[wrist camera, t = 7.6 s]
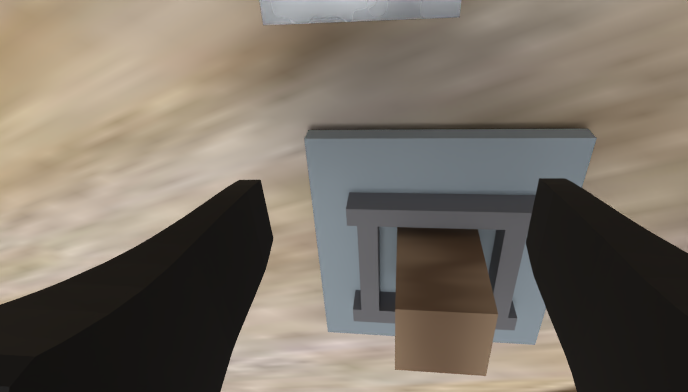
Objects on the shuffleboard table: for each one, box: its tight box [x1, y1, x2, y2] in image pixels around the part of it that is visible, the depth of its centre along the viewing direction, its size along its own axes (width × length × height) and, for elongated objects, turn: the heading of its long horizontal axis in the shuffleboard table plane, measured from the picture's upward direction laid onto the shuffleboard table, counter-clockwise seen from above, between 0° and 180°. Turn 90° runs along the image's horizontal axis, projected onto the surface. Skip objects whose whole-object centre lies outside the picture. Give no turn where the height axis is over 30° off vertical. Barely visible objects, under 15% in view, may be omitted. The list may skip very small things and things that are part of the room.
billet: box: [395, 227, 498, 376], centre depth 20 cm, size 4×4×6 cm
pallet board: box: [304, 129, 597, 345], centre depth 22 cm, size 13×14×2 cm
